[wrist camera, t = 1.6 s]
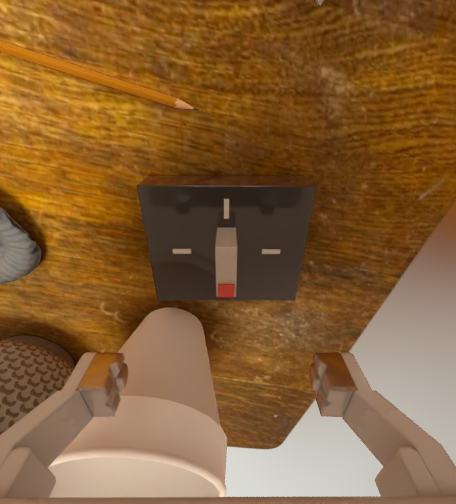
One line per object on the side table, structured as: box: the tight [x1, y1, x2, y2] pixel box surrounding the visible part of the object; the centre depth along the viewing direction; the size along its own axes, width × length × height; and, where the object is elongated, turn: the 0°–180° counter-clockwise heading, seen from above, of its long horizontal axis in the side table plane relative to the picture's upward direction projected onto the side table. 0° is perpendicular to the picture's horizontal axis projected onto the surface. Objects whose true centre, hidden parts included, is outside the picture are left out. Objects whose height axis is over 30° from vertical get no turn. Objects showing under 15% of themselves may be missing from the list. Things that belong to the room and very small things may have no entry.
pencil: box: [0, 41, 198, 110], centre depth 15 cm, size 19×1×1 cm, turn 74°
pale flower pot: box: [48, 308, 227, 498], centre depth 21 cm, size 12×12×14 cm
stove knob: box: [215, 228, 237, 297], centre depth 17 cm, size 4×1×3 cm, turn 0°
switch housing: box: [137, 175, 316, 300], centre depth 20 cm, size 12×10×3 cm
